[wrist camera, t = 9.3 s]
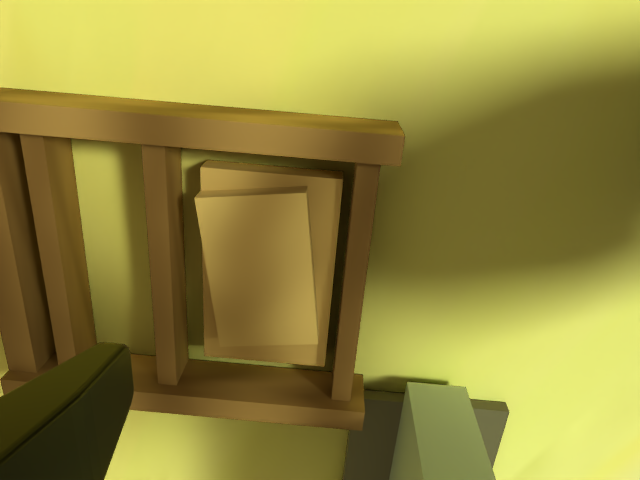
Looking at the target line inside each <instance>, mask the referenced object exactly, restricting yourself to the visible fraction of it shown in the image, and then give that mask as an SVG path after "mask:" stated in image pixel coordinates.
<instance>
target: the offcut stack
mask: <svg viewBox="0 0 640 480" xmlns="http://www.w3.org/2000/svg"><path fill="white" fill-rule="evenodd" d="M200 178H201V191H200V192H199V193H198V194H197V195H196V197H195V198H194V200H195V205H196V211H197V217H198V223H199V228H200V234H201V240H202V269H203V315H204V356H212V357H223V358H234V359H245V360H257V361H268V362H279V363H290V364H301V365H312V366H323V367H325V358H326V348H327V337H328V327H329V317H330V307H331V297H332V287H333V277H334V267H335V256H336V246H337V236H338V226H339V216H340V206H341V196H342V185H343V172H341V171H330V170H318V169H307V168H295V167H284V166H272V165H260V164H249V163H237V162H226V161H214V160H207V161H206V162H205V163H204V164H203V165H202V166H201V167H200Z"/></svg>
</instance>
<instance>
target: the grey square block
mask: <svg viewBox="0 0 640 480" xmlns="http://www.w3.org/2000/svg"><path fill="white" fill-rule="evenodd" d="M389 480H496V479H495V476H494V472H493V469H492V466H491V463H490V460H489V457H488V454H487V451H486V448H485V445H484V442H483V439H482V435H481V432H480V429H479V426H478V423H477V420H476V417H475V414H474V411H473V408H472V405H471V401H470V398H469V395H468V392H467V389H466V387H460V386H449V385H438V384H427V383H416V382H407V385H406V390H405V396H404V401H403V407H402V412H401V418H400V423H399V428H398V434H397V439H396V445H395V450H394V456H393V461H392V466H391V472H390V477H389Z"/></svg>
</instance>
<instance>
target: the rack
mask: <svg viewBox="0 0 640 480" xmlns="http://www.w3.org/2000/svg"><path fill="white" fill-rule="evenodd" d="M70 138H77V139H89V140H100V141H112V142H123V143H135V144H141V147H142V162H143V176H144V190H145V205H146V219H147V233H148V247H149V262H150V276H151V290H152V305H153V319H154V333H155V347H156V356H149V355H138V354H131V364H132V373H133V383H134V394H133V399H132V403H131V406H130V409H129V410H139V411H150V412H161V413H172V414H183V415H194V416H205V417H216V418H227V419H237V420H248V421H259V422H270V423H281V424H292V425H303V426H314V427H325V428H336V429H347V430H358V431H362V428H363V422H364V415H365V407H364V387H363V375H360V374H354V368H355V360H356V352H357V344H358V337H359V329H360V321H361V313H362V306H363V298H364V290H365V282H366V274H367V267H368V259H369V251H370V243H371V236H372V228H373V220H374V212H375V205H376V197H377V189H378V181H379V174H380V166H381V165H390V166H401V161H402V154H403V147H404V140H405V135H404V133H403V131H402V129H401V127H400V125H399V123H398V121H387V120H375V119H363V118H351V117H340V116H328V115H316V114H305V113H293V112H281V111H269V110H258V109H246V108H234V107H223V106H211V105H199V104H187V103H176V102H164V101H152V100H141V99H129V98H117V97H105V96H94V95H82V94H70V93H58V92H47V91H35V90H23V89H12V88H0V331H1V336H2V341H3V345H4V350H5V354H6V359H7V363H8V368H9V371H8V372H7V373H6V374H5V375H4V376H3V377H2V378H1V379H0V380H1V385H2V389H3V393H4V395H5V394H7V393H9V392H10V391H12V390H14V389H16V388H18V387H20V386H21V385H23V384H25V383H27V382H29V381H30V380H32V379H34V378H36V377H38V376H40V375H41V374H43V373H45V372H47V371H49V370H50V369H52V368H54V367H56V366H58V365H60V364H61V363H63V362H65V361H67V360H69V359H70V358H72V357H74V356H76V355H78V354H80V353H81V352H83V351H85V350H87V349H89V348H90V347H92V346H94V345H96V344H97V343H96V335H95V327H94V319H93V311H92V303H91V296H90V288H89V280H88V272H87V264H86V256H85V249H84V241H83V233H82V225H81V217H80V209H79V202H78V194H77V186H76V178H75V170H74V162H73V155H72V147H71V139H70ZM181 148H193V149H205V150H216V151H228V152H240V153H251V154H263V155H274V156H286V157H298V158H309V159H321V160H332V161H344V162H355V165H354V174H353V183H352V193H351V202H350V211H349V221H348V230H347V239H346V249H345V258H344V267H343V277H342V286H341V296H340V305H339V314H338V324H337V333H336V342H335V352H334V361H333V370H332V372H327V371H315V370H304V369H293V368H282V367H271V366H260V365H249V364H238V363H227V362H216V361H204V360H193V359H189V356H188V330H187V303H186V277H185V250H184V224H183V197H182V171H181Z"/></svg>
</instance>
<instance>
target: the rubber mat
mask: <svg viewBox="0 0 640 480" xmlns="http://www.w3.org/2000/svg"><path fill="white" fill-rule="evenodd" d="M404 396H405V393H395V392H384V391H373V390H364V407H365V415H364V422H363V428H362V431H358V430H349V434H348V441H347V449H346V457H345V464H344V472H343V479H342V480H389V477H390V472H391V466H392V461H393V456H394V450H395V445H396V439H397V434H398V428H399V423H400V418H401V412H402V407H403V401H404ZM470 401H471V405H472V408H473V411H474V414H475V417H476V420H477V423H478V426H479V429H480V432H481V435H482V439H483V442H484V445H485V448H486V451H487V454H488V457H489V460H490V463H491V466H492V468H493V465H494V462H495V458H496V455H497V452H498V448H499V445H500V442H501V438H502V435H503V432H504V428H505V425H506V421H507V418H508V415H509V410H508V407H507V405H506V403H505V402H494V401H483V400H472V399H470Z"/></svg>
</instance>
